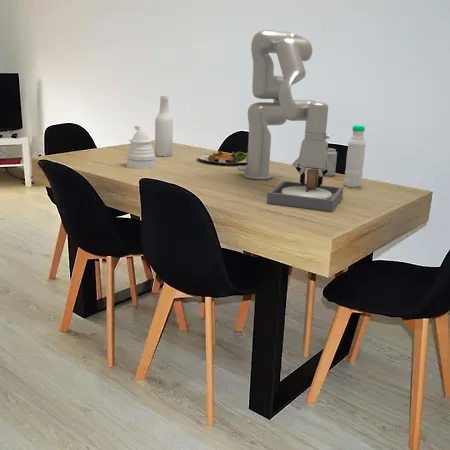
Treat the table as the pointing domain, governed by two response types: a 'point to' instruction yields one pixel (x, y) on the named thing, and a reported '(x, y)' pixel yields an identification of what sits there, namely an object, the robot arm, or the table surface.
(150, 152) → the honey pot
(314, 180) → the dial
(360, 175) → the water bottle
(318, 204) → the dial frame
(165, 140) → the alcohol
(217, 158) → the plate of food
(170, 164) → the table surface
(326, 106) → the robot arm
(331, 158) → the can
